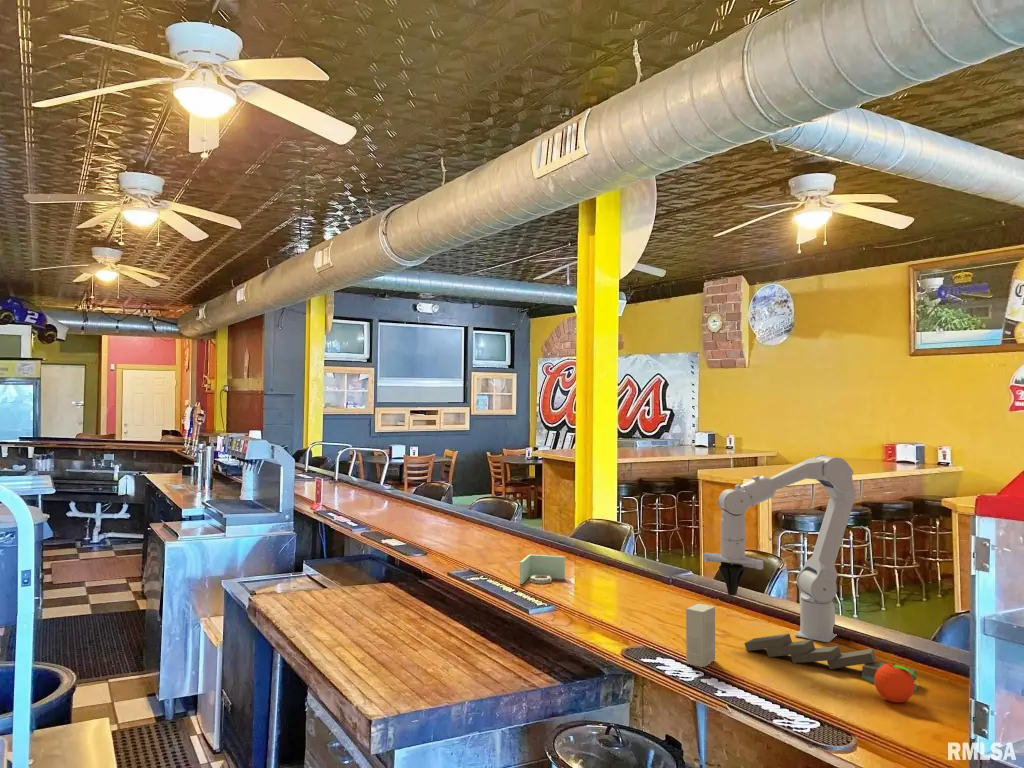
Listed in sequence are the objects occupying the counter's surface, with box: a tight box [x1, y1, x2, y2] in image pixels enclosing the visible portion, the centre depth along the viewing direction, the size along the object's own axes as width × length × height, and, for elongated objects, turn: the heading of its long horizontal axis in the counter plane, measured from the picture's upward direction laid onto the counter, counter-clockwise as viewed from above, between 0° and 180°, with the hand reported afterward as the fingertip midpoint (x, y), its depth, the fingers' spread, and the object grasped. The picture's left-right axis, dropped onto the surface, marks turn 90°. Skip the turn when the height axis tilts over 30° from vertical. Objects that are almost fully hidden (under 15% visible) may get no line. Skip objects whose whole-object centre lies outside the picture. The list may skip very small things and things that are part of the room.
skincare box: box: [685, 603, 716, 668], centre depth 162 cm, size 6×4×12 cm
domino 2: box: [765, 639, 816, 658], centre depth 165 cm, size 2×5×9 cm
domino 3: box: [790, 645, 842, 664], centre depth 162 cm, size 2×5×9 cm
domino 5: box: [861, 661, 917, 682], centre depth 152 cm, size 2×5×9 cm
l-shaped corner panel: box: [519, 554, 566, 585], centre depth 234 cm, size 12×12×8 cm
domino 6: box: [861, 673, 918, 692], centre depth 151 cm, size 2×5×9 cm
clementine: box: [873, 663, 921, 703], centre depth 142 cm, size 8×7×7 cm
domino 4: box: [826, 648, 877, 670], centre depth 158 cm, size 2×5×9 cm
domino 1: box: [743, 633, 793, 652], centre depth 169 cm, size 2×5×9 cm
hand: (732, 594), depth 182 cm, fingers closed
